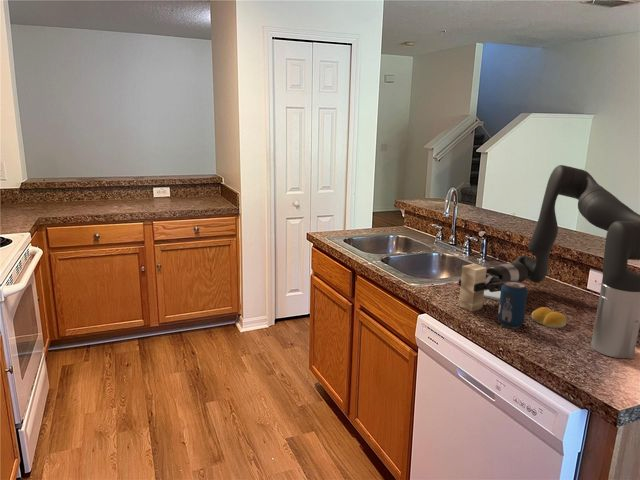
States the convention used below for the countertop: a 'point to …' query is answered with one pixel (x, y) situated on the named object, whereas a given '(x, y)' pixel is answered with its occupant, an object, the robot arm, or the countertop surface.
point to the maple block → (471, 287)
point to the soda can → (512, 304)
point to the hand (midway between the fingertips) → (467, 285)
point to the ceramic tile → (492, 295)
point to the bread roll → (549, 318)
